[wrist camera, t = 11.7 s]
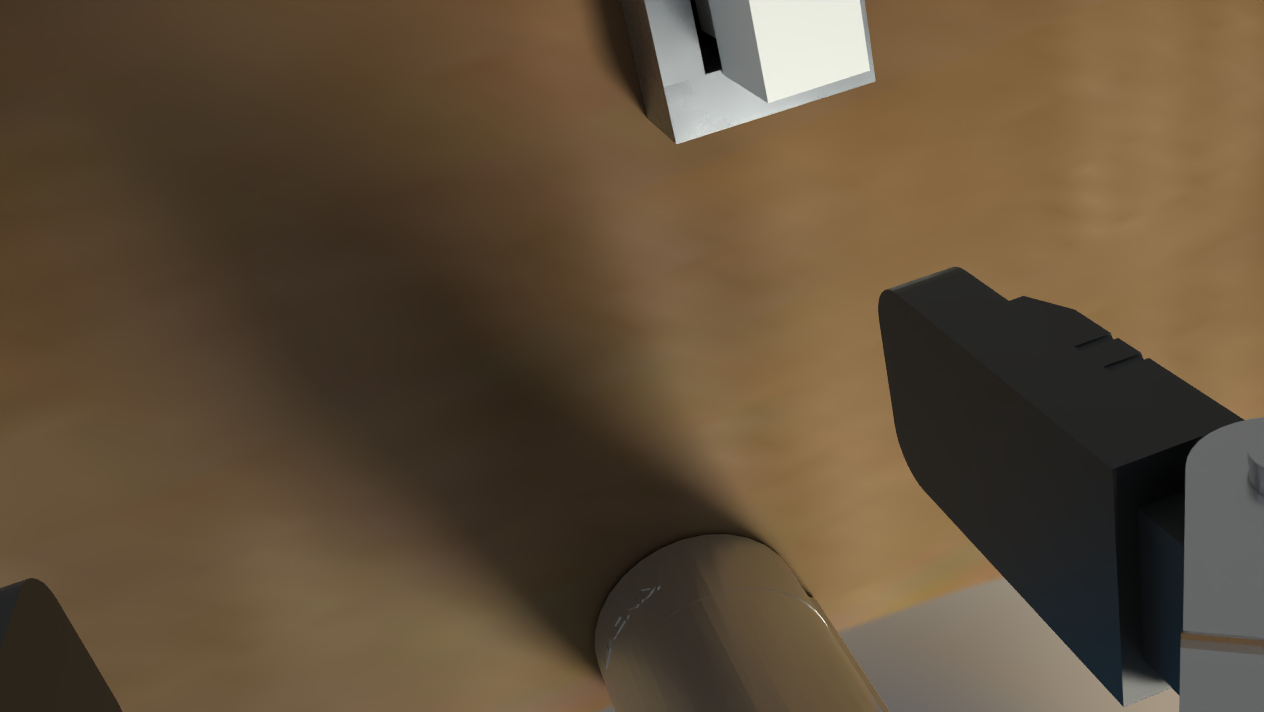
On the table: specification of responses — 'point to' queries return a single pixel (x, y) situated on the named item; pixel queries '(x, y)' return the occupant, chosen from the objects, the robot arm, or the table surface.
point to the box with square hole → (700, 74)
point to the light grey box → (786, 43)
